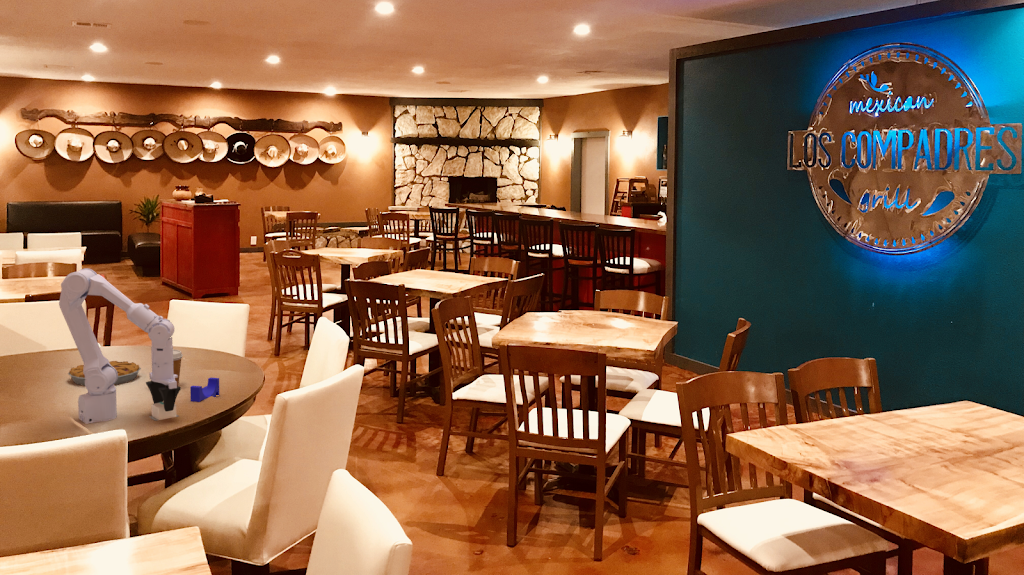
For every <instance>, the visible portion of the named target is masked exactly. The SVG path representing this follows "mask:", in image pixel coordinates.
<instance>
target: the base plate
mask: <svg viewBox="0 0 1024 575" xmlns="http://www.w3.org/2000/svg"><path fill="white" fill-rule="evenodd" d="M178 417H179V415H178V414H177V413H176V417H175V418H178ZM148 418H150V419H151V420H154V422H155V421H156V422H157V421H159V420H158V419H156V418H154V417H153V416H152V415H151V416H150V415H149V416H148ZM173 418H174V417H172V418H171V419H173ZM167 419H169V418H167Z"/></svg>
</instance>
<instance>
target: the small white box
mask: <svg viewBox="0 0 1024 575" xmlns="http://www.w3.org/2000/svg"><path fill="white" fill-rule="evenodd" d="M176 414H177V404H176V403H175V405H174V409H173V410H172V411H165V409H164V404H163V402H159V403H155V404H154V403H151V416H153V417H154V418H156V419H158V420H157V421H162V420H166V419H167V418H168V419H173V418H177V417H176ZM172 417H173V418H172Z"/></svg>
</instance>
